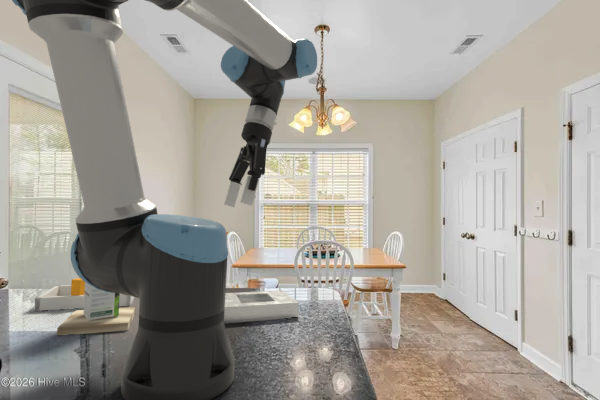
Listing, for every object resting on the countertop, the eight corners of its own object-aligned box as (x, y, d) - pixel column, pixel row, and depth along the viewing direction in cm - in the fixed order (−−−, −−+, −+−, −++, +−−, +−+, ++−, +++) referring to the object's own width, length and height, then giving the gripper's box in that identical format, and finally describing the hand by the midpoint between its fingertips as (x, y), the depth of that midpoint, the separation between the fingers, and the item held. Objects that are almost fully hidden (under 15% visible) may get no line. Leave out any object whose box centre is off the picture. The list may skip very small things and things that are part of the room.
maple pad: (127, 330, 68) (128, 322, 68) (56, 335, 64) (57, 327, 64) (135, 313, 79) (135, 306, 79) (75, 317, 75) (76, 310, 75)
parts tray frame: (130, 305, 85) (130, 293, 85) (34, 311, 78) (35, 298, 78) (136, 293, 98) (137, 282, 98) (55, 296, 91) (56, 285, 91)
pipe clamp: (101, 294, 94) (103, 271, 95) (115, 295, 93) (116, 272, 94) (64, 305, 83) (65, 279, 83) (79, 307, 82) (80, 280, 82)
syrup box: (87, 321, 67) (91, 248, 68) (82, 314, 72) (86, 246, 73) (118, 316, 71) (122, 247, 72) (112, 310, 76) (116, 245, 76)
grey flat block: (298, 317, 79) (298, 302, 79) (219, 323, 73) (220, 307, 73) (282, 303, 91) (282, 290, 91) (214, 307, 85) (214, 293, 85)
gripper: (292, 120, 79) (270, 207, 75) (254, 141, 101) (235, 210, 97) (263, 107, 76) (238, 198, 72) (231, 132, 97) (210, 202, 94)
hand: (237, 205), depth 84 cm, fingers open, 13 cm apart
